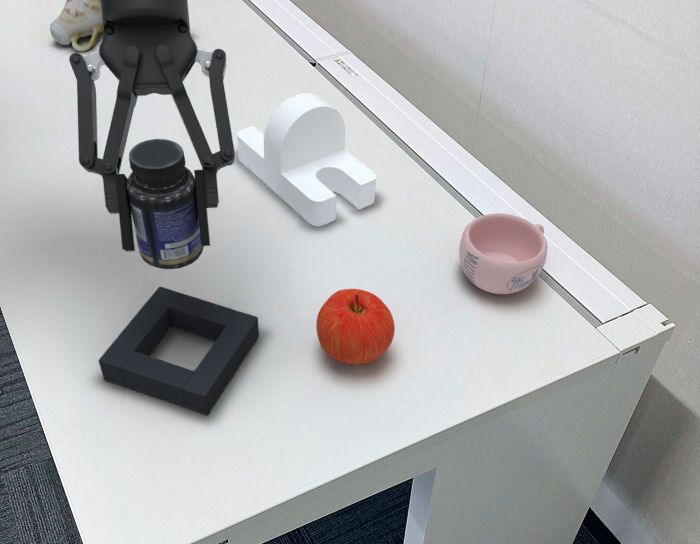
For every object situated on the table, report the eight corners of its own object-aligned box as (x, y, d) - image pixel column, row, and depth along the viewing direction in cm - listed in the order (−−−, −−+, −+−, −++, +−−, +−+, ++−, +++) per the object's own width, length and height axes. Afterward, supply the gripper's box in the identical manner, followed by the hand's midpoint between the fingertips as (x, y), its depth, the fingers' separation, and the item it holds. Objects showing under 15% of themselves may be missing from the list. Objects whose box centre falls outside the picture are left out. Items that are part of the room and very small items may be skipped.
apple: (300, 351, 82) (300, 296, 76) (350, 313, 87) (354, 259, 81) (356, 391, 79) (360, 337, 73) (405, 350, 83) (413, 296, 77)
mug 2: (496, 317, 87) (506, 278, 83) (437, 269, 92) (444, 230, 88) (566, 276, 93) (579, 238, 88) (507, 233, 98) (516, 195, 93)
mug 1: (39, 44, 126) (42, -22, 123) (92, 54, 133) (96, -8, 130) (64, 48, 121) (67, -21, 118) (117, 58, 129) (122, -6, 126)
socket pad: (103, 379, 78) (98, 360, 76) (163, 305, 86) (159, 286, 84) (207, 415, 76) (205, 396, 74) (259, 336, 83) (258, 316, 81)
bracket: (235, 156, 106) (229, 79, 98) (295, 135, 111) (295, 59, 102) (315, 228, 96) (316, 149, 88) (378, 201, 101) (385, 124, 93)
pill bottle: (212, 237, 76) (203, 140, 68) (190, 277, 72) (177, 179, 64) (153, 226, 77) (137, 128, 69) (128, 265, 73) (108, 166, 65)
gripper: (250, 1, 73) (271, 244, 75) (41, 5, 71) (66, 257, 72) (252, -35, 66) (275, 235, 67) (18, -32, 63) (47, 250, 64)
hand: (167, 246), depth 69 cm, fingers closed on pill bottle, 6 cm apart
